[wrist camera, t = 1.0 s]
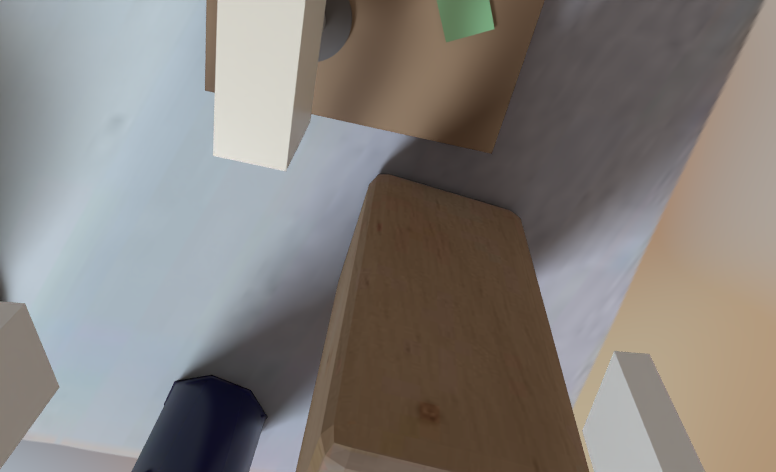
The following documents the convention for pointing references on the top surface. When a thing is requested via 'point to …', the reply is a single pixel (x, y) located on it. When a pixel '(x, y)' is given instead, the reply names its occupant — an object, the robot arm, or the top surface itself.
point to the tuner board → (417, 65)
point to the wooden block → (438, 346)
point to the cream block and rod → (265, 78)
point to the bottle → (204, 429)
